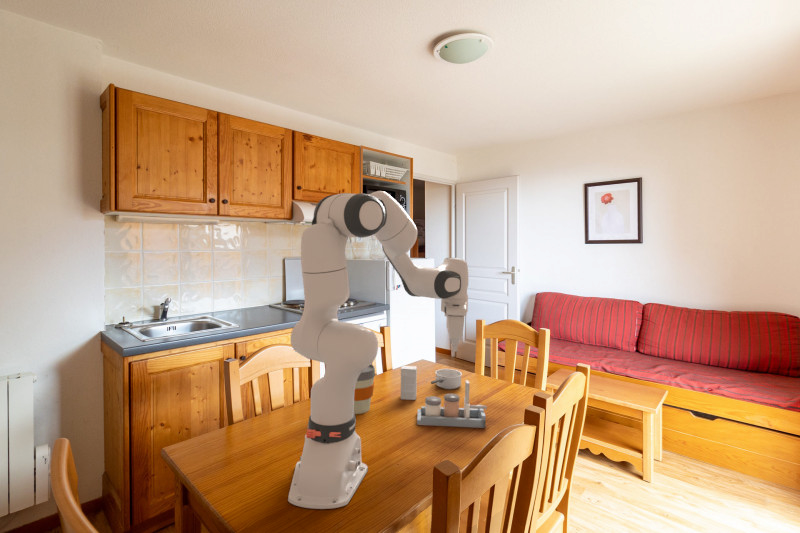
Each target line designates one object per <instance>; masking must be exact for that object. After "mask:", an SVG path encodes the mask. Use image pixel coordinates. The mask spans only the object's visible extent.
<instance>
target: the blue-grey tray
mask: <svg viewBox="0 0 800 533" xmlns="http://www.w3.org/2000/svg"><path fill="white" fill-rule="evenodd" d="M478 405H479V406H483V405H482V404H478ZM486 419H487V418H486V413H485V409H476V408H470V414H469V418H464V407H459V418H456V417H444V406H441V415H440V417H435V416H425V405H424V406H420V408H417V418H416V425H417V426H437V427H457V428H481V429H482V428H483V429H486V423H487V422H486Z"/></svg>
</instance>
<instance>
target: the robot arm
mask: <svg viewBox="0 0 800 533" xmlns="http://www.w3.org/2000/svg"><path fill="white" fill-rule="evenodd" d="M301 234H302V235H301V238H300V239H301V242H300V265H301V266H300V267H301V276H302V283H303V284H302V285H303V296H304V306H303V311H302V315H301V318H300V319H299V321H297V323H296V324H295V325H294V326H293V327H292V330H291V335H290V345H291V347H292V349H293V351H294V352H295V353H297V354H299V355H301V356H302V357H304V358H306V359H309V360H312V361H316V362H319V363H322V364H325V371H324V372H325V373H324V375H323V376H322V377H321V378H319V379H317V380H316V381H315V382H314V384H313V385H312V387H311V390H310V415H309V416H308V423H307V429H306V434H305V435H304V445H303V449H302V453H301V454H302V455H300V457H299V461H297V462H296V464H295V468H294V471H293V472H294V473H293V476H292V481H291V483H290V487H289V488H290V489H289V492H288V498H287V501H288V502H289V503H290V504H292V505H293V506H297V507H301V508H305V509H313V510H314V509H316V510H319V509H320V510H325V509H327V510H328V509H331V510H332V509H336V508H337V509H338V508H341V507H344V506H347V505H348V504H349V502H350V500H351V499H352V498H353V496H354V494H355V493H356V492H357V489H358V488H359V486H360V485H361V483H362V481H363V479H364V478H365V476H366V475H367V472H368V471H369V469H368V467H369V466H368V465H367V464H366V463H364V462H362V438H361V437H360V435H359V434H358V433H357V432H356V422H357V421H356V420H357V419H356V414H354V394H355V386H356V382H357V379H358V377H359V375H360V374H361V372H362V371H363V370H364V369H365V368H367V367H368V366H369V365H370V364H371V365H372V363H373V362H374V361H375V359H376V357H377V355H378V352H379V342H378V338H377V334H376V333H375V332H374V331H373V330H371V329H370V328H367V327H365V326H362V325H360V324H357V323H352V322H346V321H340V320H339V317H338V313H339V312H338V311H339V307H341V306H343V304H345V303H346V302H347V301H348V300H349V298H350V294H351V292H350V283H349V282H350V281H349V273H348V272H349V271H348V263H347V262H348V261H347V257H346V256H347V255H346V245H347V242H348V239H349V238H362V239H363V238H368V237H370V236H371V237H372V236H373V235H374V237H375V239H377V240H378V242H379V243H380V245H382V246H381V247H382V248H381V249H382V252H383V253H384V255H385V257H386V258H387V260H388V262H389V263H390V265H391V266H392V268H393V270H395V272H396V273H397V275H398V277H399V278H400V280H401V283H402V285H403V288H404V290H405V293H407V294H408V295H409V296H411V297H422V298H427V299H428V298H430V299H437V300H440V311H441V312H442V313H444V317H446V329H447V332H448V336H449V344H450V345H451V351H452V352H457V351H458V346H459V341H461V340H462V339H463V334H464V327H465V326H464V325H465V317H466V316H467V313H468V311H469V309H468V307H469V306H468V305H469V295H468V287H469V266H468V263H467V261H466V260H465V259H463V258H458V257H445V258H444V260H443V262H442V263H441V264H440V265H438V266H436V268H435V267H423V266H419V265H416V264H415V263H414V262H413V260H412V259H411V257H410V255H409V254H408V252H409V251H410V250H411V249H413V247H414V245H415V244H416V241H417V239H418V228H417V226H416V224H415V222H414V221H413V219H412V218H411V216H410V215H409V214H408V213H407V211H406V209H404V207H403V206H402V205H401V204H400V203H399V202H398V201H397V200H396V199H395V198H394V197H393V196H391V194H389V193H388V192H386V191H383V190H377V191H374V192H373V191H372V192H371V193H369V194H368V193H363V192H360V193H359V192H358V193H348V192H343V193H338V194H331V195H330V194H329V195H327V196H325V197H323V198H322V199H320V200H318V202H317V203H316V205H315V208H314V210H313V218H312V220H311V225H310V226H308V227H307V228H305V229H304V230H303V231H302V233H301Z"/></svg>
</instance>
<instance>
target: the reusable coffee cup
mask: <svg viewBox="0 0 800 533" xmlns="http://www.w3.org/2000/svg"><path fill="white" fill-rule="evenodd" d="M375 377H376V370H375V366H374V365H373V364H372V363H371V364H370V365H369V366H368V367H367V368H365V369H364V370H363V371H362V372H361V374H360V375H359V377H358V379H357V382H356V386H355V394H354V414H355V415H360V414H364V413H367V412H369V411H370V407H371V403H372V402H371V401H372V397H373V396H374V388H375V381H374V380H375Z"/></svg>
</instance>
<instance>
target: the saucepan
mask: <svg viewBox="0 0 800 533" xmlns="http://www.w3.org/2000/svg"><path fill="white" fill-rule="evenodd" d="M434 373H435V379H434V380H432V381H430V385H436V386H438V387H439V388H441V389H444V390H455V389H457V388H460V387H461V386H462V376H463V373H462V372H461V371H460V370H457V369H453V368H440V369H436V370H435V371H434Z"/></svg>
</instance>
